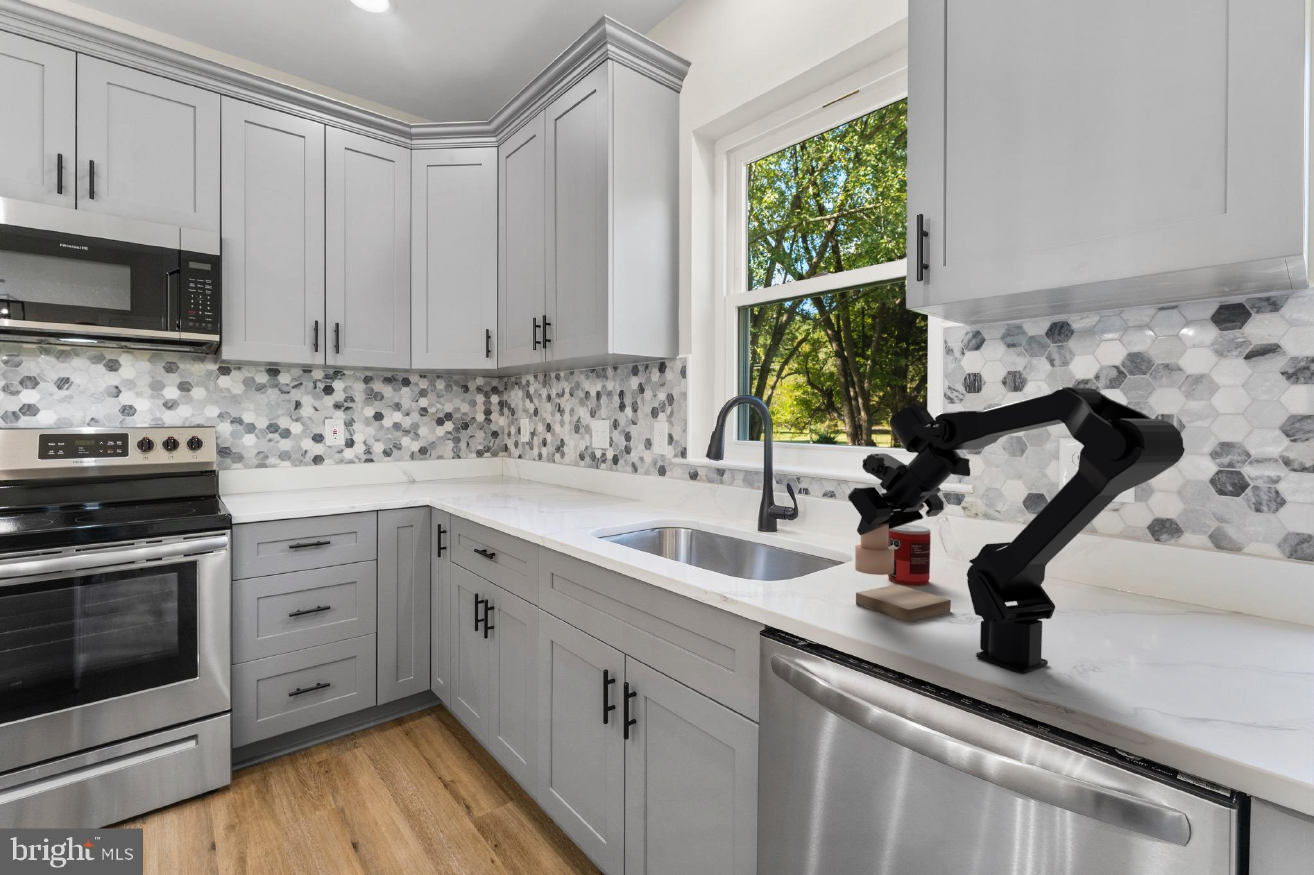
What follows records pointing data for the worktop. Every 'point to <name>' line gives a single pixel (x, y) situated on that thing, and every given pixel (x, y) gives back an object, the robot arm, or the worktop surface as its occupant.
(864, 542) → the peach chess pawn
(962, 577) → the worktop surface
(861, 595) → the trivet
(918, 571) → the canned food
